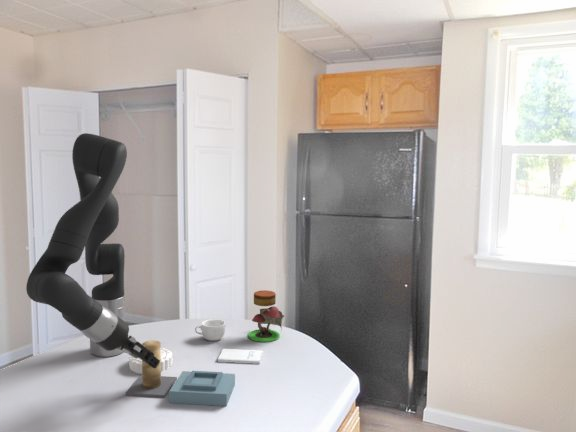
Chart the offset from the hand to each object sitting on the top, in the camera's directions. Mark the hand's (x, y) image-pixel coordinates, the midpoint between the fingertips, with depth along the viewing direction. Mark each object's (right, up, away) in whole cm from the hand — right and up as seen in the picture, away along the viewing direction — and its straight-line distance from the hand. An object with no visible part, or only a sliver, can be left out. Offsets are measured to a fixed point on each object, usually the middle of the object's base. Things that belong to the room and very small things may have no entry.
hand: (147, 359), depth 119 cm
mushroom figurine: (+28, -4, +39) cm, 48 cm away
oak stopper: (+1, -7, +2) cm, 7 cm away
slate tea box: (+14, -8, -1) cm, 17 cm away
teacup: (+10, -4, +36) cm, 38 cm away
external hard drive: (+22, -7, +22) cm, 31 cm away
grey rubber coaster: (+1, -8, +2) cm, 8 cm away
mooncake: (-4, -7, +15) cm, 17 cm away
